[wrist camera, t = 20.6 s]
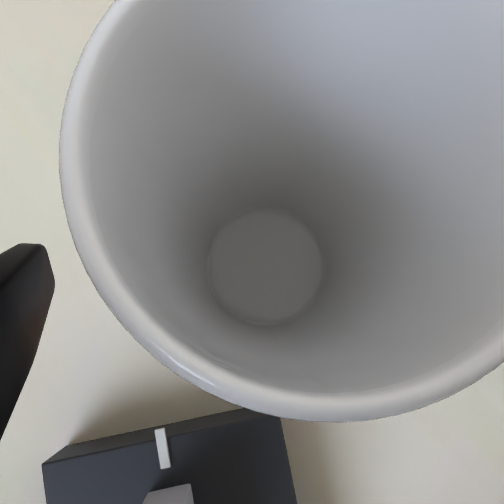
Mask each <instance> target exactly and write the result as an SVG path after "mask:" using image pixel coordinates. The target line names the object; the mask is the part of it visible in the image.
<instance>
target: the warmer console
mask: <svg viewBox="0 0 504 504" xmlns="http://www.w3.org/2000/svg"><path fill="white" fill-rule="evenodd" d="M42 473H43V480H44V488H45V496H46V503H47V504H142V503H143V501H144V499H145V497H146V495H147V494H148V493H149V492H152V491H157V490H161V489H166V488H170V487H175V486H179V485H184V484H188V483H189V484H191V489H192V495H193V501H194V504H297V500H296V495H295V490H294V485H293V480H292V475H291V470H290V465H289V460H288V455H287V450H286V445H285V440H284V435H283V430H282V425H281V420H280V417H276V416H272V415H268V414H264V413H260V412H255V411H253V410H250V409H247V408H242V409H237V410H232V411H228V412H223V413H218V414H214V415H209V416H204V417H199V418H195V419H190V420H185V421H181V422H176V423H171V424H166V425H162V426H157V427H152V428H148V429H143V430H138V431H133V432H129V433H124V434H119V435H114V436H110V437H105V438H100V439H96V440H91V441H86V442H81V443H77V444H72V445H67V446H65V447H64V448H63V449H61V450H60V451H59V452H57V453H56V454H55V455H53V456H52V457H51V458H49V459H48V460H46V461H45V462H44V463H42Z"/></svg>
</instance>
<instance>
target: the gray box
mask: <svg viewBox="0 0 504 504" xmlns="http://www.w3.org/2000/svg"><path fill="white" fill-rule="evenodd" d="M142 504H194V501H193V495H192V489H191V484H189V483H188V484H184V485H179V486H175V487H170V488H166V489H161V490H157V491H152V492H149V493H148V494H147V495H146V497H145V499H144V501H143V503H142Z"/></svg>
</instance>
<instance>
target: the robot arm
mask: <svg viewBox="0 0 504 504" xmlns="http://www.w3.org/2000/svg"><path fill="white" fill-rule="evenodd" d="M54 288H55V279H54V275H53V272H52V268H51V264H50V261H49V257H48V253H47V250H46V248H45V247H44V246H43V245H41V244H28V243H21V244H18V245H16V246H14V247H12V248H10V249H9V250H7V251H5V252H3V253H1V254H0V440H1V438H2V435H3V433H4V431H5V428H6V426H7V423H8V421H9V419H10V416H11V414H12V412H13V409H14V407H15V405H16V402H17V400H18V398H19V395H20V393H21V390H22V388H23V386H24V383H25V381H26V379H27V376H28V374H29V371H30V369H31V366H32V364H33V361H34V358H35V355H36V352H37V349H38V345H39V342H40V338H41V335H42V331H43V328H44V324H45V321H46V317H47V314H48V310H49V307H50V304H51V300H52V297H53V293H54Z"/></svg>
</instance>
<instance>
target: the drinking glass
mask: <svg viewBox="0 0 504 504" xmlns="http://www.w3.org/2000/svg"><path fill="white" fill-rule="evenodd" d="M59 174H60V183H61V192H62V199H63V204H64V208H65V213H66V218H67V222H68V226H69V229H70V232H71V235H72V238H73V241H74V244H75V247H76V250H77V252H78V254H79V256H80V259H81V261H82V263H83V265H84V267H85V270H86V272H87V274H88V276H89V277H90V279H91V281H92V283H93V284H94V286H95V288H96V290H97V291H98V293H99V295H100V297H101V298H102V299H103V301H104V302H105V304H106V305H107V306H108V308H109V309H110V310H111V312H112V313H113V315H114V316H115V317H116V319H117V320H118V321H119V322H120V323H121V324H122V326H123V327H124V328H125V329H126V330H127V331H128V332H129V333H130V335H131V336H132V337H133V338H134V339H135V340H136V341H137V342H138V343H139V344H140V345H141V346H142V347H144V348H145V349H146V350H147V351H148V352H149V353H150V354H151V355H152V356H153V357H154V358H156V359H157V360H158V361H160V362H161V363H162V364H164V365H165V366H166V367H168V368H169V369H170V370H172V371H173V372H174V373H176V374H177V375H178V376H180V377H182V378H183V379H185V380H187V381H188V382H190V383H192V384H193V385H195V386H197V387H198V388H200V389H202V390H204V391H206V392H208V393H210V394H212V395H214V396H216V397H219V398H221V399H223V400H225V401H227V402H230V403H232V404H235V405H238V406H241V407H244V408H247V409H250V410H253V411H255V412H260V413H264V414H268V415H272V416H276V417H281V418H286V419H294V420H301V421H309V422H334V423H342V422H355V421H368V420H374V419H379V418H385V417H391V416H396V415H399V414H403V413H406V412H410V411H413V410H417V409H420V408H423V407H426V406H428V405H431V404H433V403H436V402H438V401H441V400H443V399H445V398H448V397H450V396H452V395H454V394H455V393H457V392H459V391H461V390H463V389H465V388H467V387H468V386H470V385H472V384H474V383H475V382H477V381H478V380H480V379H481V378H483V377H484V376H485V375H487V374H488V373H490V372H491V371H493V370H494V369H496V368H497V367H498V366H499V365H500V364H501V363H503V362H504V0H115V1H114V2H113V3H112V5H111V6H110V7H109V8H108V10H107V11H106V13H105V14H104V16H103V17H102V19H101V20H100V21H99V23H98V24H97V26H96V27H95V29H94V31H93V33H92V35H91V36H90V38H89V40H88V42H87V44H86V45H85V47H84V49H83V51H82V54H81V56H80V58H79V61H78V63H77V65H76V68H75V70H74V73H73V76H72V79H71V83H70V86H69V89H68V92H67V95H66V100H65V105H64V110H63V115H62V120H61V130H60V141H59Z"/></svg>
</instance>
